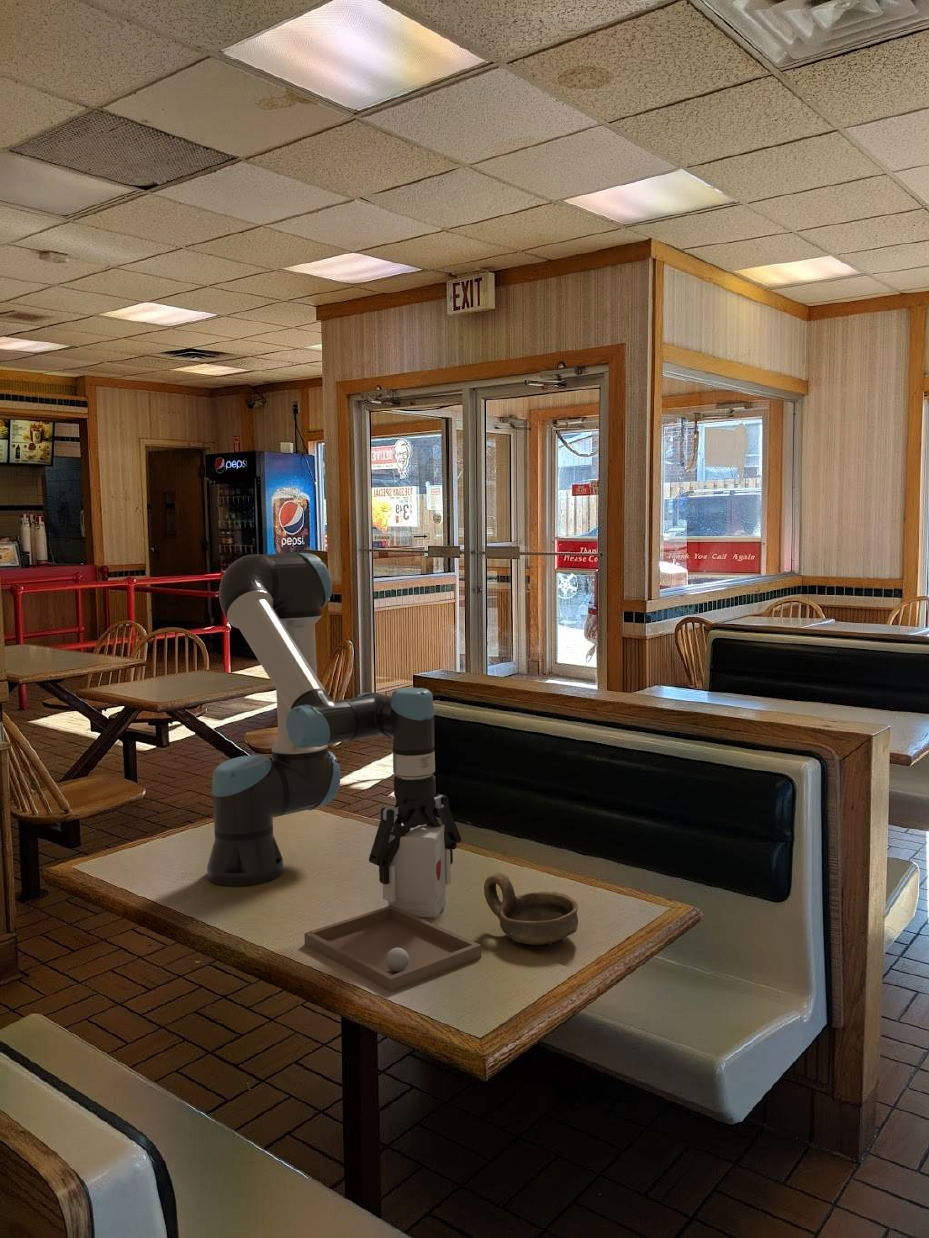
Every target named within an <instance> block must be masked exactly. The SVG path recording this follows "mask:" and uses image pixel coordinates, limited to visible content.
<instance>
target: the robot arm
mask: <svg viewBox="0 0 929 1238" xmlns="http://www.w3.org/2000/svg"><path fill="white" fill-rule="evenodd" d="M332 593H333V583H332V577H331V574H330V571H329V570H328V568H327V565H326V564H325V563H324V562H323V560H322V559H321V558H320V557H319V556H317V555H315V554H313V553H308V552H296V551H295V552H287V553H285V552H284V553H265V554H264V553H263V554H257V553H253V554H246V555H243V556H241V557H240V558H237V559H236V560H234V561H233V562H232V563H231V564H230V565H229V566H228V567H227V568H226V570H224V573H223V575H222V576H221V579H220V583H219V588H218V600H219V604H220V608H221V610H222V613H223V614H224V616H225V618H226V620H227V621H228V623H229V624H230V625H231V626H232V627H233V628H236V629H238V630H239V631H240V632H241V634H242V636H243V638H244V639H245V641H246V642H247V644H248V646H249V648H251V651H252V653H253V654H254V656H255V657H256V659H257V661H258V662H259V663H260V665H261V667H262V668H263V670H264V672H265V673H266V676H267V677H268V678H269V680H270V682H271V683H272V685H273V687H274V688H275V690H276V691H275V693H276V709H277V710H276V713H277V730H278V731H277V732H278V741H277V742H276V743H275V744H274V746H273V747H272V748H271V758H270V757H269V756H267V755H263V754H250V755H241V756H238V757H235V758H234V757H233V758H231V759H228V760H225V761H224V762H222V763H220V764H218V766H217V767H215V769H214V771H213V772H212V773H213V774H212V781H211V782H212V785H211V786H212V787H211V794H212V805H213V825H214V829H213V830H214V841H213V845H212V848H211V852H210V855H209V859H208V863H207V867H206V868H207V872H206V873H207V874H206V875H207V880H209V881H210V882H211V883H213V884H216V885H221V886H226V887H228V886H229V887H241V886H244V887H245V886H253V885H259V884H263V883H267V882H269V881H272V880H275V879H276V878H278V877H280V876H281V875H282V874H283V873H284V860H283V856H282V853H281V851H280V848H279V846H278V842H277V840H276V837H275V834H274V824H273V823H274V818H278V817H281V816H286V815H292V814H295V813H299V812H304V811H305V812H306V811H313V810H315V809H317V808H320V807H323V806H326V805H329V804H330V803H331V802H333V800H334V798H335V797H336V796H337V795H338V791H339V789H340V785H341V768H340V764H339V763H338V758H337V757H336V755H335V754H334V753H333V752H332V751H329V748H328V747H329V746H328V745H334V744H338V743H343V742H348V741H350V742H351V741H355V740H357V741H358V740H361V739H366V738H367V739H368V738H372V737H384V738H389V739H392V773H393V774H394V775H395V776H394V777H393V795H394V797H395V804H394V807H389V808H388V807H384V806H383V807H381V809H380V821H379V824H378V828H377V830H376V834H375V837H374V841H373V844H372V847H371V851H370V854H369V857H368V862H369V863H371V864H373V865H376V866H378V877H379V878H378V880H379V883H381V884H382V899H383V900H385V901H387V902H388V901H389V902H392V903H393V902H396V900H395V866H394V865H391V862H392V860H393V858H394V857H395V855H396V853H397V851H398V849H399V847H400V838H401V837H403V836H405V835H406V833H408V832H409V831H410V829H411V828H415V827H417V826H419V825H428V826H431V827H434V828H435V827H440V826H441V825H440V822H441V824H442V825H444V842H445V879H446V886H449V885H452V881H451V880H452V876H451V875H452V874H451V873H452V872H451V865H453V863H454V862H453V859H454V856H453V853H454V852H453V850H456V849H457V846H458V845H457V843H458V844H459V843H461V841H462V837H461V834H460V832H459V829H458V827H457V824H456V821H455V818H454V817H453V814H452V812H451V809H450V804H449V802H450V801H449V797H448V796H446V795H443V794H440V793H438V794H437V792H436V790H437V789H436V776H435V775H434V773H435V772H436V760H435V759H436V756H435V754H436V753H435V713H436V712H435V708H434V699H433V693H432V692H431V690H429V689H427V688H424V687H403V688H398V689H394V690H393V691H392V692H391V695H385V694H382V693H380V692H361V693H359V694H358V695H356V696H355V697H353V698H346V699H339V700H333V699H332V697H331V696H330V695H329V694H328V692H327V690H326V689H325V687H324V686H323V684H322V683H321V681H320V679H319V678H318V669H317V668H318V667H317V647H316V646H317V644H316V643H317V642H316V628H315V627H316V626H315V625H316V623H317V622H318V621H319V620H320V619H321V618H322V616H323V615H322V608H324V607H325V606H327V605H328V604H329V602H330V600H331V597H332ZM435 809H436V812H437V815H438V816H439V819H440V822H439V820H438V818H437V817H436V815H435V814H434V810H435ZM402 823H403V825H404V826H402V825H401V824H402ZM390 835H393V836H395V838H394V839H393V840H392V841H391V842H389V839H390ZM388 842H389V843H388Z"/></svg>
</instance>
